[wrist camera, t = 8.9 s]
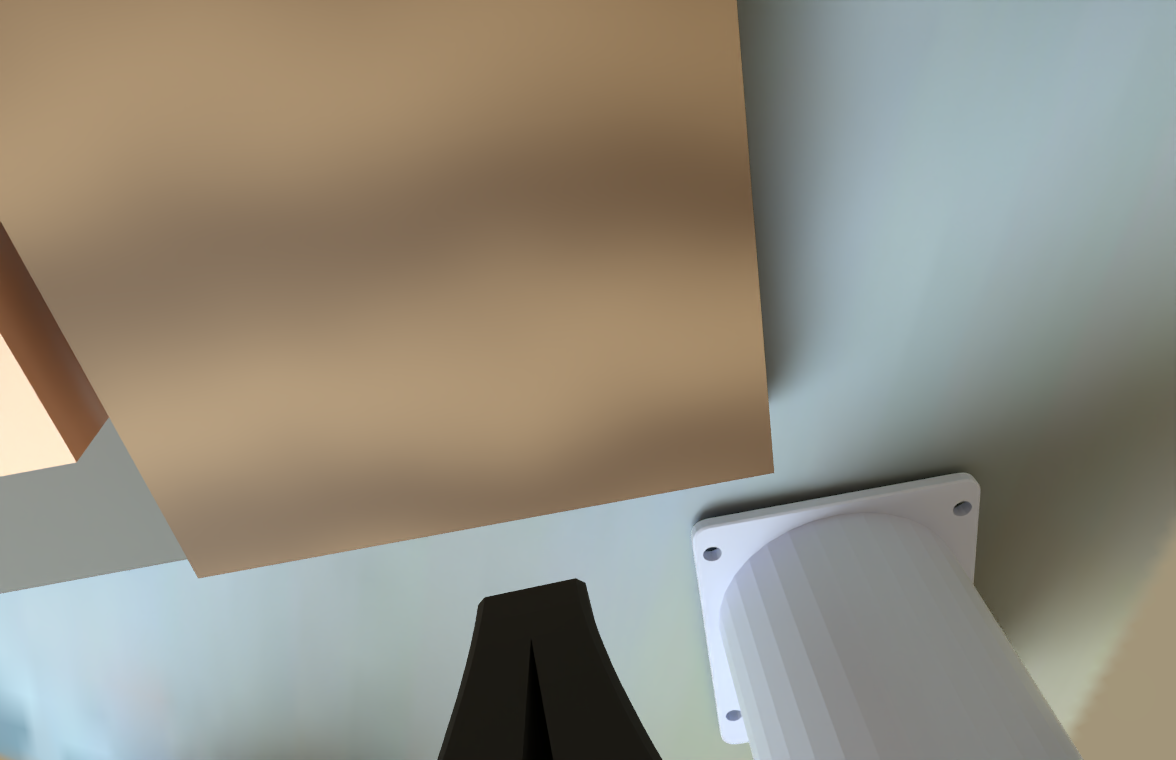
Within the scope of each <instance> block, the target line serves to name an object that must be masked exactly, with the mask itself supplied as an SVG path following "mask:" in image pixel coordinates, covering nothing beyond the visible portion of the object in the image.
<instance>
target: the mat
mask: <svg viewBox="0 0 1176 760" xmlns="http://www.w3.org/2000/svg"><path fill="white" fill-rule="evenodd" d="M185 559H187V557H186V555H185V553H184V552H183V550H182V548H181V546H180V544H179V543H178V541H177V539H176V537H175V535H174V534H173V532H172V530H171V528H170V526H169V524H168V523H167V521H166V519H165V517H164V515H163V514H162V512H161V510H160V508H159V506H158V505H157V503H156V501H155V499H154V497H153V496H152V494H151V492H150V490H149V488H148V487H147V485H146V483H145V481H144V479H143V478H142V476H141V474H140V472H139V470H138V469H137V467H136V465H135V463H134V461H133V459H132V458H131V456H130V454H129V452H128V450H127V449H126V447H125V445H124V443H123V441H122V440H121V438H120V436H119V434H118V432H117V431H116V429H115V427H114V425H113V423H112V422H111V420H110V418H108V419H107V421H106V422H105V424H104V425H103V426H102V428H101V429H100V430H99V432H98V433H97V435H96V436H95V437H94V439H93V440H92V442H91V443H90V444H89V446H88V447H87V449H86V450H85V451H84V453H83V454H82V456H81V457H80V458H79V460H78V461H77V462H76V463H71V464H65V465H60V466H54V467H49V468H44V469H38V470H33V471H27V472H22V473H16V474H11V475H6V476H0V594H1V593H6V592H12V591H17V590H22V589H28V588H33V587H39V586H44V585H50V584H55V583H60V582H66V581H71V580H77V579H82V578H88V577H93V576H98V575H104V574H109V573H115V572H120V571H126V570H131V569H136V568H142V567H147V566H153V565H158V564H164V563H169V562H175V561H180V560H185Z"/></svg>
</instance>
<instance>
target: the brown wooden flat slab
mask: <svg viewBox="0 0 1176 760" xmlns="http://www.w3.org/2000/svg"><path fill="white" fill-rule="evenodd" d="M0 221H1V223H2V225H3V227H4V228H5V230H6V232H7V234H8V236H9V237H10V239H11V241H12V243H13V245H14V246H15V248H16V250H17V252H18V254H19V255H20V257H21V259H22V261H23V263H24V264H25V266H26V268H27V270H28V272H29V273H30V275H31V277H32V279H33V281H34V283H35V284H36V286H37V288H38V290H39V292H40V293H41V295H42V297H43V299H44V301H45V302H46V304H47V306H48V308H49V310H50V311H51V313H52V315H53V317H54V319H55V320H56V322H57V324H58V326H59V328H60V329H61V331H62V333H63V335H64V337H65V338H66V340H67V342H68V344H69V346H70V348H71V349H72V351H73V353H74V355H75V357H76V358H77V360H78V362H79V364H80V366H81V367H82V369H83V371H84V373H85V375H86V376H87V378H88V380H89V382H90V384H91V385H92V387H93V389H94V391H95V393H96V394H97V396H98V398H99V400H100V402H101V403H102V405H103V407H104V409H105V411H106V413H107V414H108V416H109V418H110V420H111V422H112V423H113V425H114V427H115V429H116V431H117V432H118V434H119V436H120V438H121V440H122V441H123V443H124V445H125V447H126V449H127V450H128V452H129V454H130V456H131V458H132V459H133V461H134V463H135V465H136V467H137V469H138V470H139V472H140V474H141V476H142V478H143V479H144V481H145V483H146V485H147V487H148V488H149V490H150V492H151V494H152V496H153V497H154V499H155V501H156V503H157V505H158V506H159V508H160V510H161V512H162V514H163V515H164V517H165V519H166V521H167V523H168V524H169V526H170V528H171V530H172V532H173V534H174V535H175V537H176V539H177V541H178V543H179V544H180V546H181V548H182V550H183V552H184V553H185V555H186V557H187V559H188V561H189V562H190V564H191V566H192V568H193V570H194V571H195V573H196V575H197V577H198V578H203V577H208V576H214V575H219V574H225V573H230V572H236V571H241V570H247V569H252V568H257V567H263V566H268V565H274V564H279V563H285V562H290V561H296V560H301V559H307V558H312V557H317V556H323V555H328V554H334V553H339V552H345V551H350V550H356V549H361V548H367V547H372V546H377V545H383V544H388V543H394V542H399V541H405V540H410V539H416V538H421V537H427V536H432V535H437V534H443V533H448V532H454V531H459V530H465V529H470V528H476V527H481V526H487V525H492V524H497V523H503V522H508V521H514V520H519V519H525V518H530V517H536V516H541V515H547V514H552V513H557V512H563V511H568V510H574V509H579V508H585V507H590V506H596V505H601V504H607V503H612V502H617V501H623V500H628V499H634V498H639V497H645V496H650V495H656V494H661V493H667V492H672V491H677V490H683V489H688V488H694V487H699V486H705V485H710V484H716V483H721V482H726V481H732V480H737V479H743V478H748V477H754V476H759V475H765V474H770V473H774V466H773V453H772V440H771V428H770V415H769V402H768V390H767V377H766V365H765V352H764V339H763V327H762V314H761V301H760V289H759V276H758V264H757V251H756V238H755V226H754V213H753V200H752V188H751V175H750V163H749V150H748V137H747V125H746V112H745V100H744V87H743V74H742V62H741V49H740V36H739V24H738V11H737V0H0Z"/></svg>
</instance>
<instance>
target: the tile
mask: <svg viewBox="0 0 1176 760" xmlns="http://www.w3.org/2000/svg"><path fill="white" fill-rule="evenodd" d="M108 418H109V416H108V414H107V413H106V411H105V409H104V407H103V405H102V403H101V402H100V400H99V398H98V396H97V394H96V393H95V391H94V389H93V387H92V385H91V384H90V382H89V380H88V378H87V376H86V375H85V373H84V371H83V369H82V367H81V366H80V364H79V362H78V360H77V358H76V357H75V355H74V353H73V351H72V349H71V348H70V346H69V344H68V342H67V340H66V338H65V337H64V335H63V333H62V331H61V329H60V328H59V326H58V324H57V322H56V320H55V319H54V317H53V315H52V313H51V311H50V310H49V308H48V306H47V304H46V302H45V301H44V299H43V297H42V295H41V293H40V292H39V290H38V288H37V286H36V284H35V283H34V281H33V279H32V277H31V275H30V273H29V272H28V270H27V268H26V266H25V264H24V263H23V261H22V259H21V257H20V255H19V254H18V252H17V250H16V248H15V246H14V245H13V243H12V241H11V239H10V237H9V236H8V234H7V232H6V230H5V228H4V227H3V225H2V223H1V221H0V476H6V475H11V474H16V473H22V472H27V471H33V470H38V469H44V468H49V467H54V466H60V465H65V464H71V463H76V462H77V461H78V460H79V458H80V457H81V456H82V454H83V453H84V451H85V450H86V449H87V447H88V446H89V444H90V443H91V442H92V440H93V439H94V437H95V436H96V435H97V433H98V432H99V430H100V429H101V428H102V426H103V425H104V424H105V422H106V421H107V419H108Z"/></svg>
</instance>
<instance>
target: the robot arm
mask: <svg viewBox="0 0 1176 760" xmlns="http://www.w3.org/2000/svg"><path fill="white" fill-rule="evenodd" d="M980 492H981V490H980V485H979V484H978V482H977V481H976V480H975V478H974V477H973V476H972V475H971V474H968V473H955V474H949V475H944V476H938V477H933V478H927V479H922V480H916V481H911V482H906V483H900V484H895V485H889V486H884V487H878V488H873V489H867V490H862V491H856V492H851V493H845V494H840V495H834V496H829V497H823V498H818V499H812V500H807V501H801V502H796V503H790V504H785V505H779V506H774V507H768V508H763V509H757V510H752V511H746V512H741V513H735V514H730V515H725V516H719V517H714V518H708V519H704V520H701V521H699V522H698V523H697V524H695V525H694V527H693V528H692V530H691V542H692V548H693V555H694V562H695V568H696V575H697V582H698V589H699V595H700V602H701V609H702V616H703V622H704V629H705V636H706V642H707V649H708V656H709V663H710V669H711V676H712V683H713V690H714V696H715V703H716V710H717V716H718V723H719V729H720V734H721V737H722V739H723V741H725V742H726V743H730V744H740V743H746V742H749V744H750V748H751V752H752V756H753V759H754V760H1083V758H1082V757H1081V755H1080V753H1079V752H1078V750H1077V749H1076V747H1075V745H1074V744H1073V742H1072V741H1071V739H1070V737H1069V736H1068V734H1067V733H1066V731H1065V730H1064V728H1063V726H1062V725H1061V723H1060V722H1059V720H1058V718H1057V717H1056V715H1055V714H1054V712H1053V710H1052V709H1051V707H1050V706H1049V704H1048V702H1047V701H1046V699H1045V698H1044V696H1043V695H1042V693H1041V691H1040V690H1039V688H1038V687H1037V685H1036V683H1035V682H1034V680H1033V679H1032V677H1031V675H1030V674H1029V672H1028V671H1027V669H1026V667H1025V666H1024V664H1023V663H1022V661H1021V660H1020V658H1019V656H1018V655H1017V653H1016V652H1015V650H1014V648H1013V647H1012V645H1011V644H1010V642H1009V640H1008V639H1007V637H1006V636H1005V634H1004V633H1003V631H1002V629H1001V628H1000V626H999V625H998V623H997V621H996V620H995V618H994V617H993V615H992V613H991V612H990V610H989V609H988V607H987V605H986V604H985V602H984V601H983V599H982V598H981V596H980V594H979V593H978V591H977V590H976V588H975V586H974V585H973V584H974V571H975V558H976V545H977V532H978V519H979V506H980ZM962 501H964V503H963V504H961V505H960V506H957V507H954V506H955V505H957V504H958V503H960V502H962ZM710 547H717V548H716V549H715V550H713V551H711V552H709V551H705V550H706V549H708V548H710ZM437 760H662V758H661V757H660V755H659V753H658V752H657V750H656V748H655V746H654V745H653V743H652V741H651V739H650V738H649V736H648V734H647V732H646V730H645V729H644V727H643V725H642V723H641V721H640V719H639V717H638V716H637V714H636V712H635V710H634V708H633V706H632V704H631V702H630V700H629V698H628V696H627V694H626V692H625V690H624V688H623V687H622V685H621V683H620V680H619V678H618V676H617V674H616V672H615V670H614V668H613V666H612V663H611V661H610V659H609V656H608V654H607V651H606V649H605V647H604V644H603V642H602V640H601V637H600V634H599V632H598V629H597V626H596V623H595V620H594V616H593V612H592V608H591V604H590V600H589V596H588V592H587V587H586V583H584V582H582V581H580V580H578V579H576V578H575V579H570V580H565V581H561V582H556V583H551V584H546V585H542V586H537V587H532V588H527V589H523V590H518V591H513V592H508V593H504V594H499V595H494V596H489V597H485V598H484V599H483V600H482V601H481V603H480V604H479V605H478V610H477V616H476V622H475V627H474V632H473V637H472V641H471V646H470V650H469V654H468V658H467V662H466V666H465V670H464V674H463V678H462V681H461V685H460V689H459V692H458V696H457V699H456V702H455V706H454V709H453V712H452V715H451V718H450V722H449V725H448V728H447V731H446V734H445V737H444V741H443V744H442V747H441V750H440V753H439V756H438V759H437Z"/></svg>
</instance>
